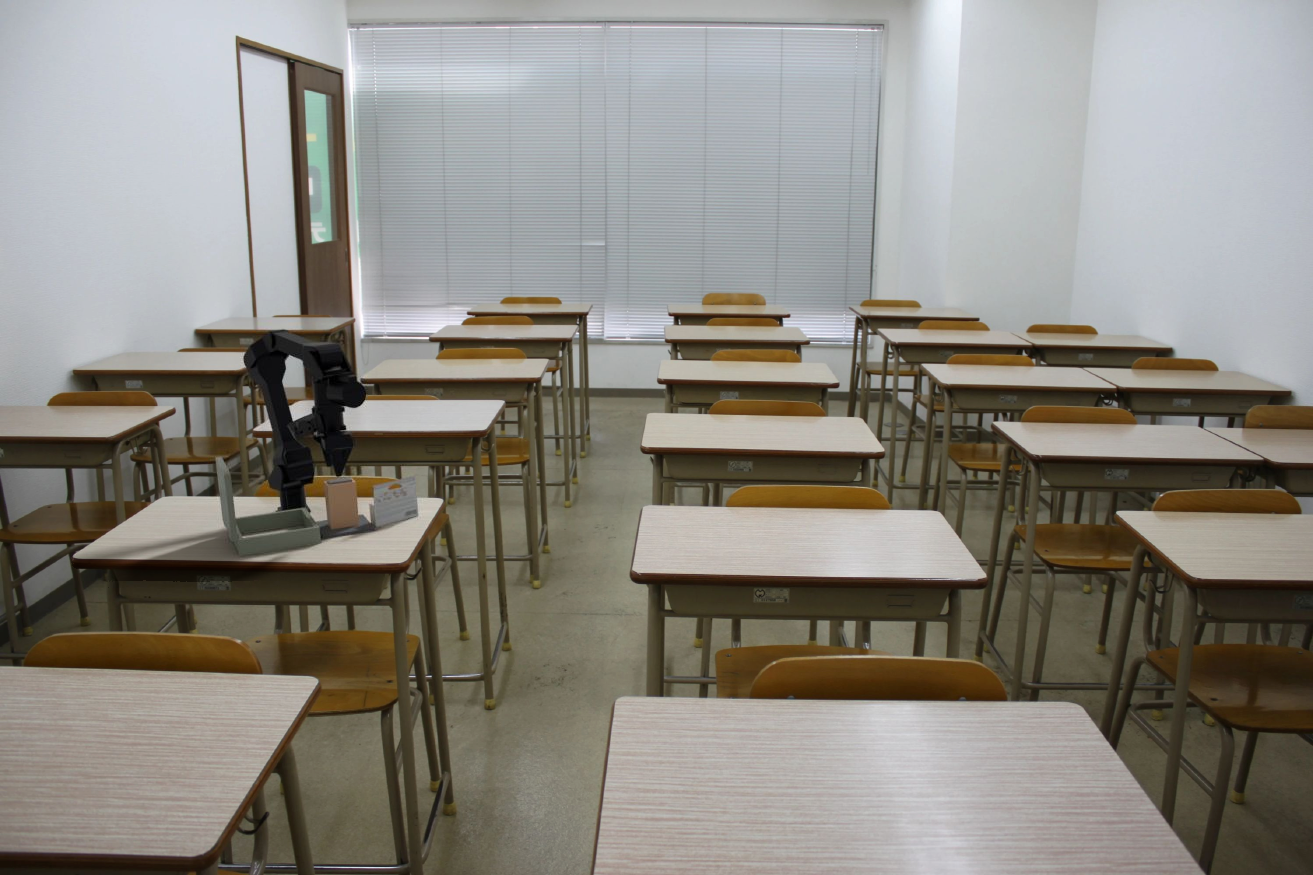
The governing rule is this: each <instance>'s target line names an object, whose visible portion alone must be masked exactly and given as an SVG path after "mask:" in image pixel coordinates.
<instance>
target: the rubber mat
mask: <svg viewBox="0 0 1313 875" xmlns="http://www.w3.org/2000/svg"><path fill="white" fill-rule="evenodd" d="M358 516H359V525H357V526H350V527H344V528H338V529H332V530H331V528H330V527H329V526H328V523H327V519H324V520H318V521H315V522H316V523H317V525H318V526H319V527H320V537H321V538H322V539H330V538H336V537H342V536H347V535H348V536H349V535H355V534H361V533H367V532H373V531H376V527H375V526H373V525H372V524H371V521H370V520H369V519H368V518H367V517H366V516H365V515H364V513H362V514H358Z"/></svg>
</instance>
